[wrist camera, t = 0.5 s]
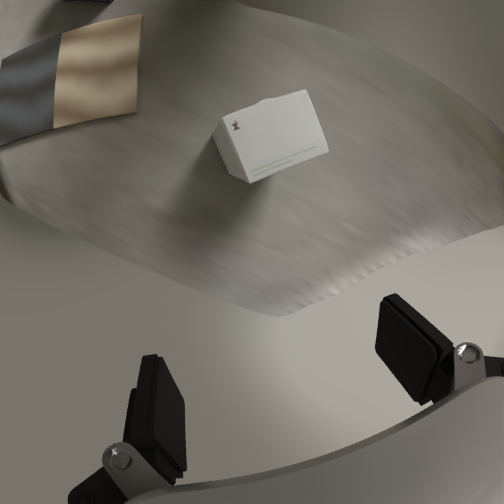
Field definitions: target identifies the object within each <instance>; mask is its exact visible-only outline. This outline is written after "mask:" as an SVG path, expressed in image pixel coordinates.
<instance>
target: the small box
mask: <svg viewBox="0 0 504 504" xmlns="http://www.w3.org/2000/svg"><path fill="white" fill-rule="evenodd" d="M63 1H91V2H108V3H111V2H112V1H113V0H63Z"/></svg>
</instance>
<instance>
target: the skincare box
mask: <svg viewBox="0 0 504 504" xmlns="http://www.w3.org/2000/svg"><path fill="white" fill-rule="evenodd" d="M212 136H213V138H214V141H215V143H216V146H217V148H218V150H219V153H220V155H221V157H222V160H223V162H224V164H225V166H226V169H227V171H228V173H229V174H231V175H233V176H235V177H237V178H239V179H242V180H244V181H246V182H248V183H250V184H251V183H254V182H256V181H258V180H261V179H263V178H266V177H268V176H271V175H273V174H276V173H278V172H281V171H283V170H286V169H288V168H291V167H293V166H296V165H298V164H301V163H303V162H306V161H308V160H311V159H314V158H316V157H319V156H321V155H324V154H326V153H328V152H329V149H328V147H327V144H326V140H325V137H324V135H323V132H322V129H321V126H320V123H319V121H318V118H317V115H316V113H315V110H314V108H313V105H312V103H311V100H310V98H309V95H308V93H307V90H306V89H304V90H301V91H297V92H294V93H290V94H286V95H283V96H279V97H276V98H273V99H272V98H269V99H264V100H262V101H260V102H258V103H257V104H255V105H252V106H249V107H247V108H244V109H241V110H239V111H236V112H233V113H231V114H228V115H226V116H224V117H223V118H221V119H220V123H219V124H218V126H217V128H216V129H215V131H214V133H213V134H212Z"/></svg>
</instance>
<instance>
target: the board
mask: <svg viewBox="0 0 504 504" xmlns="http://www.w3.org/2000/svg"><path fill="white" fill-rule="evenodd" d="M142 22H143V14H142V13H141V14H135V15H129V16H124V17H119V18H114V19H110V20H106V21H102V22H98V23H94V24H90V25H87V26H83V27H80V28H77V29H74V30H70V31H67V32H64V33H62V34H59V35H56V36H53V37H51V38H48V39H46V40H43V41H41V42H38V43H36V44H33V45H31V46H29V47H27V48H24V49H22V50H20V51H18V52H16V53H14V54H12V55H10V56H8V57H6V58H4V59H2V64H1V69H0V147H1V146H3V145H6V144H9V143H12V142H14V141H17V140H20V139H23V138H26V137H30V136H33V135H36V134H39V133H43V132H46V131H50V130H53V129H57V128H61V127H65V126H69V125H73V124H78V123H82V122H87V121H92V120H96V119H102V118H107V117H113V116H119V115H125V114H132V113H137V93H138V69H139V53H140V41H141V31H142Z"/></svg>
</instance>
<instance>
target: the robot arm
mask: <svg viewBox="0 0 504 504" xmlns="http://www.w3.org/2000/svg"><path fill="white" fill-rule="evenodd" d="M375 350H376V353H377V354H378V356H379V357H380V358H381V359H382V361H383V362H384V363H385V364H386V366H387V367H388V368H389V369H390V371H391V372H392V373H393V375H394V376H395V377H396V378H397V380H398V381H399V382H400V383H401V385H402V386H403V387H404V389H405V390H406V391H407V392H408V394H409V395H410V397H411V398H412V399H413V400H414V401H415V402H417V401H418V403H419V404H420V405H421V406H422V405H424V404H426V403H427V402H429V401H430V400H432V402H433V405H431V406H430V407H428V408H426V409H424V410H423V411H421V412H419V413H418V414H416V415H414V416H412V417H410V418H408V419H406V420H404V421H403V422H401V423H399V424H397V425H395V426H393V427H391V428H389V429H387V430H384V431H382V432H380V433H378V434H376V435H374V436H372V437H369V438H367V439H364V440H362V441H360V442H357V443H355V444H352V445H350V446H347V447H345V448H342V449H340V450H337V451H334V452H331V453H328V454H326V455H323V456H320V457H317V458H314V459H310V460H307V461H304V462H301V463H297V464H293V465H290V466H286V467H282V468H278V469H274V470H270V471H266V472H261V473H256V474H251V475H246V476H240V477H235V478H229V479H222V480H215V481H208V482H199V483H192V484H184V485H176V486H174V484H175V483H176V478H183V471H186V470H187V462H186V440H185V404H184V399H183V397H182V395H181V393H180V391H179V389H178V387H177V385H176V384H175V382H174V380H173V378H172V376H171V374H170V372H169V370H168V367H167V366H166V363H165V361H164V359H163V358H162V357H158V355H157V354H153V355H146V356H143V357H142V361H141V366H140V371H139V377H138V382H137V388H133V389H132V390H131V393H130V398H129V404H128V409H127V416H126V422H125V428H124V435H123V442H118V443H114V444H112V445H110V446H109V447H108V448H107V449H106V450H105V451H104V453H103V456H102V464H103V467H102V468H100V469H99V470H98V471H97V472H95V473H94V474H92V475H91V476H90V477H88V478H87V479H86V480H84V481H83V482H82V483H80V484H79V485H78V486H76V487H75V488H74V489H73V490H72V491H71V492H70V494H69V495H68V504H504V358H500V357H490V356H484V355H483V352H482V350H481V348H479V346H477V345H476V344H473V343H469V342H465V343H461V344H459V345H458V346H457V347H456V348H455V347H453V343H452V342H451V341H450V340H449V339H448V338H447V337H446V336H445V335H444V334H443V333H441V332H440V331H439V330H438V329H437V328H436V327H435V326H434V325H432V324H431V323H430V322H429V321H428V320H427V319H425V317H423V316H422V315H421V314H420V313H419V312H417V311H416V310H415V309H414V308H413V307H412V306H410V305H409V304H408V303H407V302H406V301H405V300H404V299H402V298H401V297H400V296H399V295H398V294H396V293H394V294H391V295H388V296H386V297H384V298H383V301H381V303H380V311H379V319H378V328H377V337H376V343H375Z"/></svg>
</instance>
